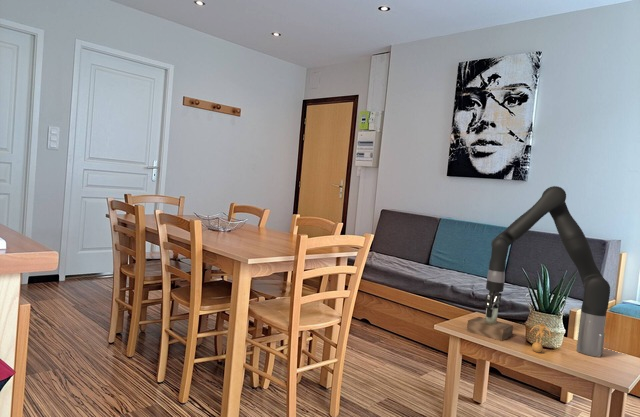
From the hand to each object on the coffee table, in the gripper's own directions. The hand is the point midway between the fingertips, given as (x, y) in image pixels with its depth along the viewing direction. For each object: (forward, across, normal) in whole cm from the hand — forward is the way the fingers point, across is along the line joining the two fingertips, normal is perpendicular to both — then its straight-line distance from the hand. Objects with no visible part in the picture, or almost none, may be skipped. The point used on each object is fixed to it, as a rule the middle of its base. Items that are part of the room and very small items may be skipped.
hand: (491, 316), depth 208 cm
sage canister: (+3, 0, 0) cm, 3 cm away
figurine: (+8, -8, -23) cm, 26 cm away
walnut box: (+8, 0, 0) cm, 8 cm away
